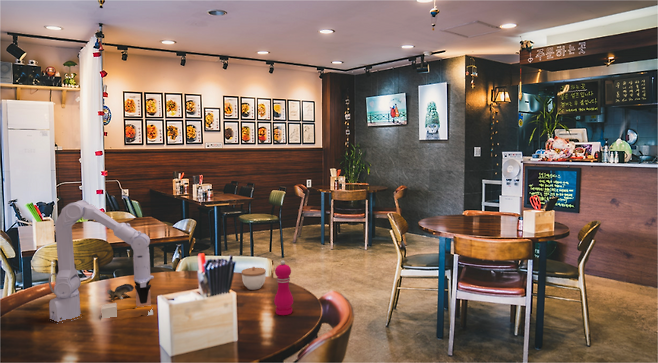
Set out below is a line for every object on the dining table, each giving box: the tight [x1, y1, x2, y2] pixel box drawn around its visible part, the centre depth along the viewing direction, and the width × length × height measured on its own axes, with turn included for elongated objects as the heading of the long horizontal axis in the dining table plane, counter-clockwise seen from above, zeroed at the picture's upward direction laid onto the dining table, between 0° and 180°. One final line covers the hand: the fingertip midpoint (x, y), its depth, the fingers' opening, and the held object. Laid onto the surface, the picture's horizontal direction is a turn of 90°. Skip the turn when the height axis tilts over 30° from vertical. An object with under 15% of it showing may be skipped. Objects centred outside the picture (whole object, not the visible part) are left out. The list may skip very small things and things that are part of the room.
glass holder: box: [48, 262, 77, 298], centre depth 188 cm, size 9×14×15 cm, turn 174°
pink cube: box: [135, 288, 152, 307], centre depth 175 cm, size 5×5×5 cm
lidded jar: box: [241, 266, 267, 291], centre depth 204 cm, size 11×11×9 cm
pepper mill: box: [273, 260, 294, 316], centre depth 172 cm, size 7×7×20 cm
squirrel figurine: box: [106, 283, 135, 301], centre depth 191 cm, size 8×7×9 cm
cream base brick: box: [100, 302, 118, 319], centre depth 170 cm, size 5×5×4 cm
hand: (143, 300), depth 175 cm, fingers closed on pink cube, 5 cm apart
